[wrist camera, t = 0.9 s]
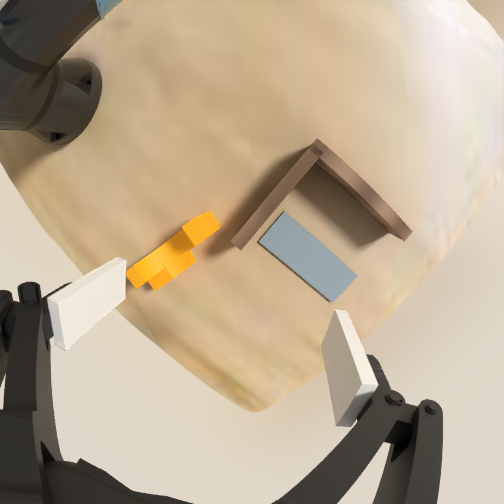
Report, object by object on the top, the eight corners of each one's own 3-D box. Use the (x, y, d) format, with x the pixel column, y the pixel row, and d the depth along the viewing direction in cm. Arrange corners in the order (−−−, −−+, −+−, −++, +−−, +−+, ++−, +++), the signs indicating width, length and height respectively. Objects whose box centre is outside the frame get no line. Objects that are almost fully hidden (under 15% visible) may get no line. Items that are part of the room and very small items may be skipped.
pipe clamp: (164, 282, 38) (144, 300, 32) (146, 258, 38) (124, 272, 32) (229, 237, 36) (218, 249, 29) (210, 210, 35) (194, 216, 29)
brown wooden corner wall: (237, 233, 35) (230, 241, 30) (311, 144, 31) (317, 138, 27) (324, 304, 36) (329, 322, 32) (396, 224, 33) (412, 231, 28)
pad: (258, 241, 35) (258, 241, 35) (284, 211, 34) (284, 211, 34) (331, 301, 36) (331, 302, 36) (356, 275, 35) (357, 276, 35)
